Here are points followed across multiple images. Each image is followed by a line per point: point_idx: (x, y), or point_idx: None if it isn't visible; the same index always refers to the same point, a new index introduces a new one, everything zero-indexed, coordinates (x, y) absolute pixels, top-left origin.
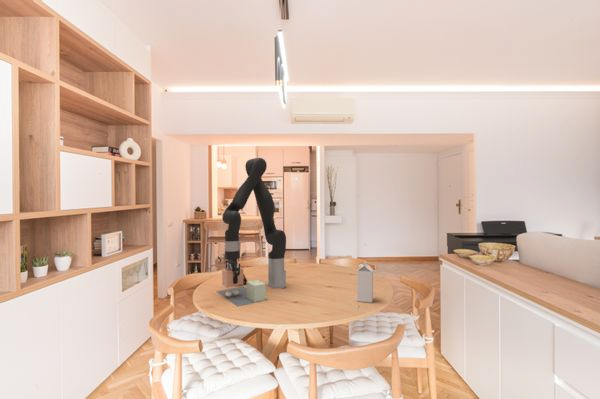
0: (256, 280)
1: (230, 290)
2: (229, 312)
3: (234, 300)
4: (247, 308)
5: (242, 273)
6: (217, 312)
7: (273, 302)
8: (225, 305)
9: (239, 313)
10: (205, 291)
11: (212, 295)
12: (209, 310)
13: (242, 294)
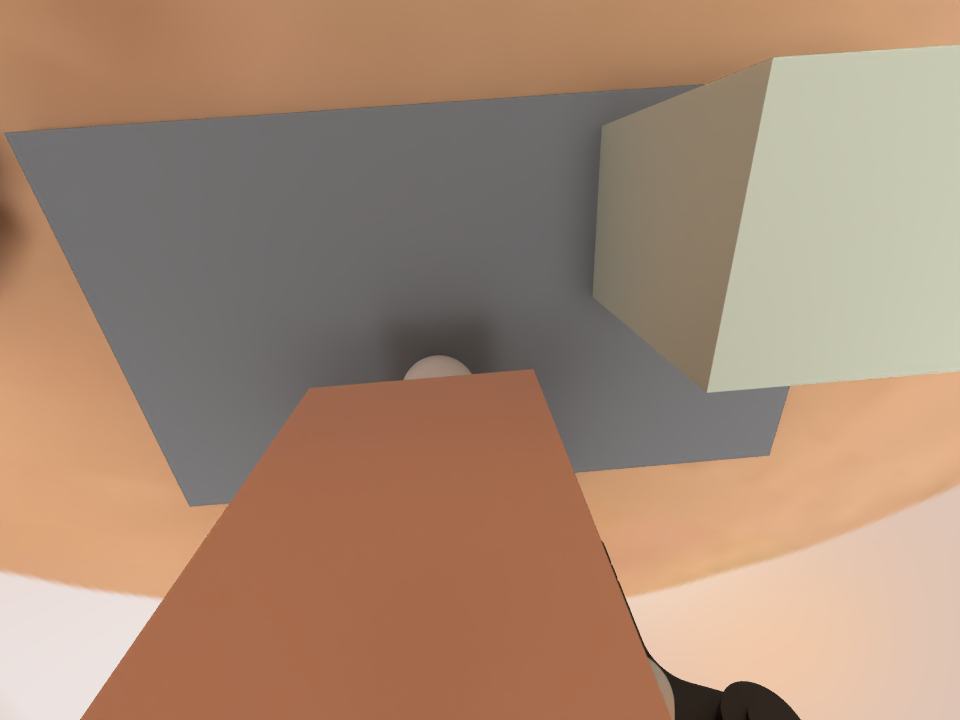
0: (805, 117)
1: (204, 375)
2: (774, 507)
3: (599, 435)
4: None
5: (607, 581)
6: (708, 564)
7: (935, 9)
8: (610, 497)
9: (855, 458)
10: (106, 553)
11: None
12: (633, 594)
13: (446, 300)
